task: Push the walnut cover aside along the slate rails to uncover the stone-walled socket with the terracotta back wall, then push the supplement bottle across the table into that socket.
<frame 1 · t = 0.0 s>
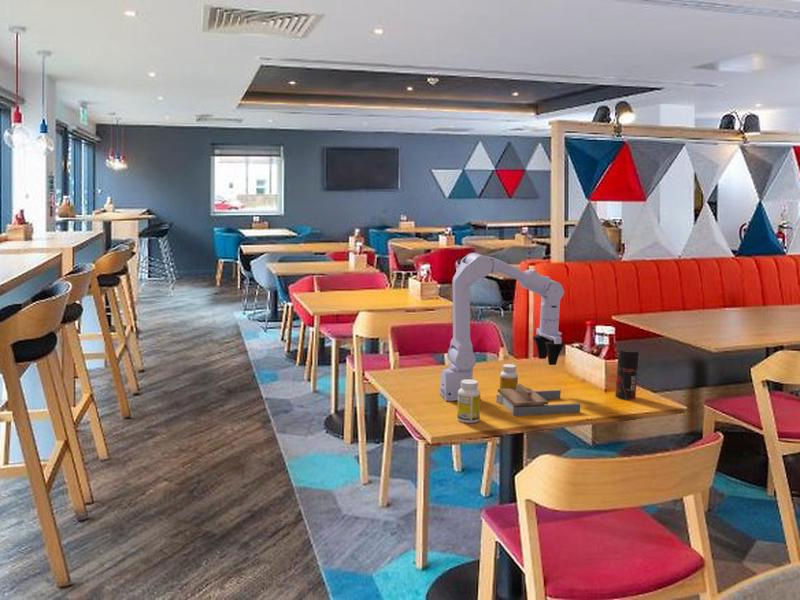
hand: (547, 361, 224), 10 cm above the table, tool pointing down, fingers open, 7 cm apart
cover: (522, 392, 210), point 5 cm above the table, slide at 0.0 cm
supplement bottle: (508, 396, 222), on the table
pill bottle: (468, 420, 199), on the table
deodorant: (625, 397, 223), on the table
socket: (523, 408, 209), on the table
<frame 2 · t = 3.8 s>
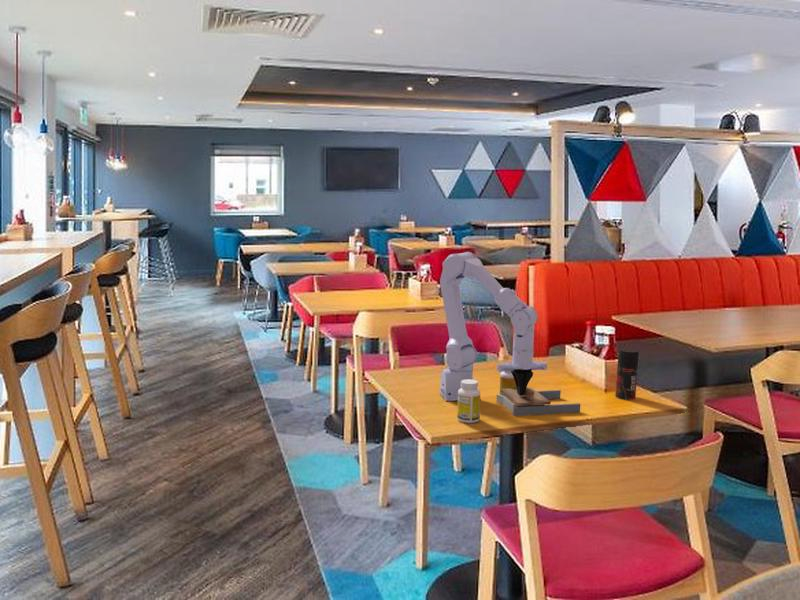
hand: (520, 394, 209), 4 cm above the table, tool pointing down, fingers closed
cover: (524, 392, 210), point 5 cm above the table, slide at 0.7 cm, touching gripper
everything else where it was.
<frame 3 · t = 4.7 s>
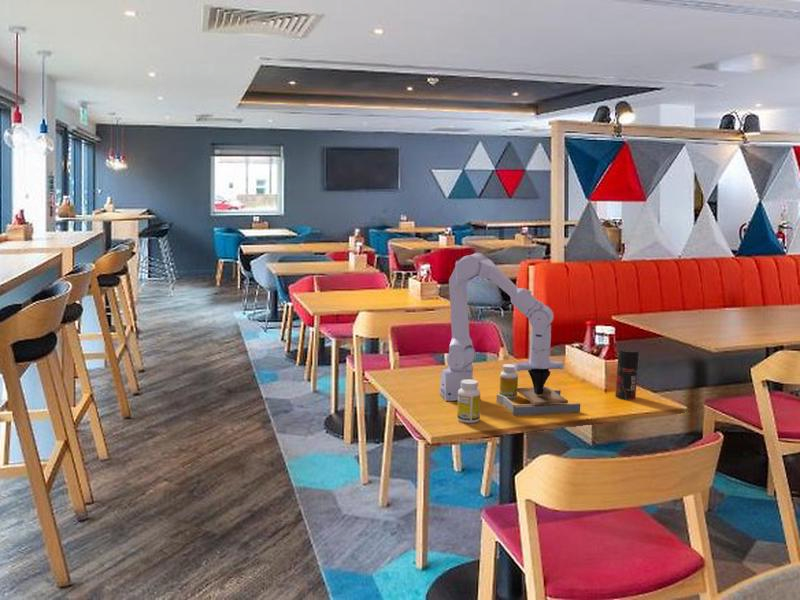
hand: (537, 393, 210), 4 cm above the table, tool pointing down, fingers closed
cover: (541, 391, 211), point 5 cm above the table, slide at 6.0 cm, touching gripper
everything else where it was.
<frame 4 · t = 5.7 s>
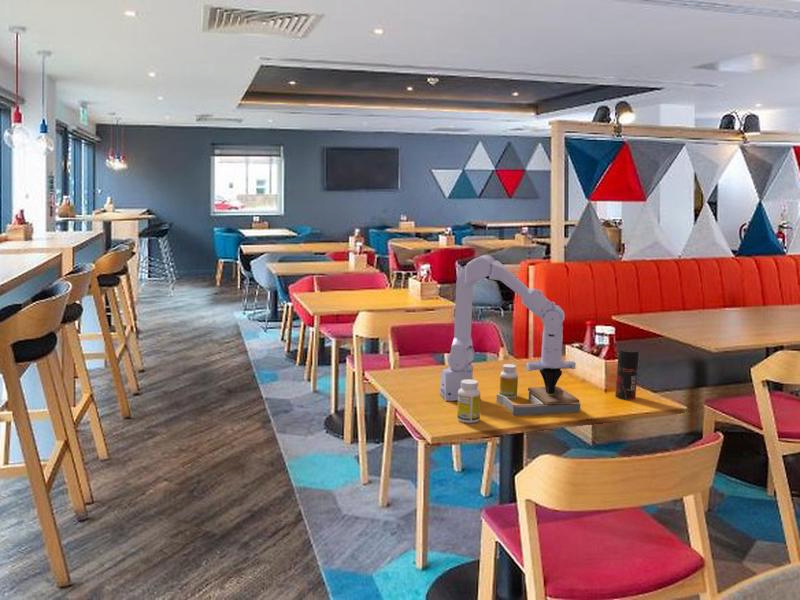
hand: (549, 393, 210), 4 cm above the table, tool pointing down, fingers closed
cover: (553, 391, 212), point 5 cm above the table, slide at 9.7 cm, touching gripper
everything else where it was.
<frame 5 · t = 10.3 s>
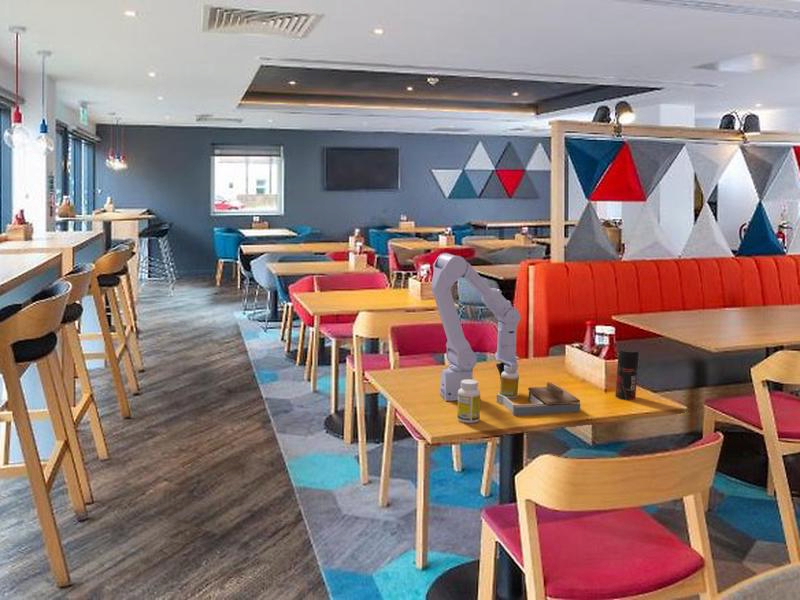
hand: (505, 386, 225), 2 cm above the table, tool pointing down, fingers closed, pressing on supplement bottle
cover: (553, 391, 212), point 5 cm above the table, slide at 9.8 cm
supplement bottle: (508, 396, 222), on the table, touching gripper
everything else where it was.
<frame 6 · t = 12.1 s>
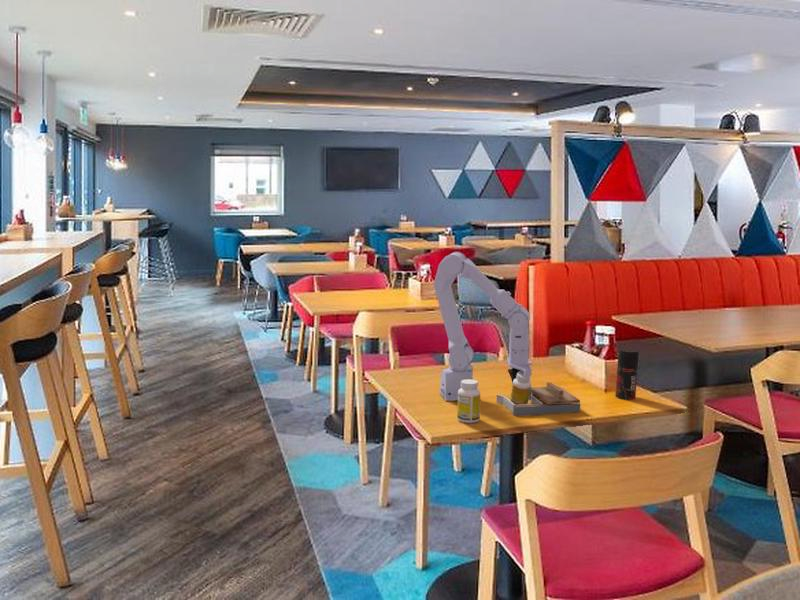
hand: (518, 392, 216), 3 cm above the table, tool pointing down, fingers closed, pressing on supplement bottle
supplement bottle: (518, 402, 214), on the table, touching gripper
everything else where it was.
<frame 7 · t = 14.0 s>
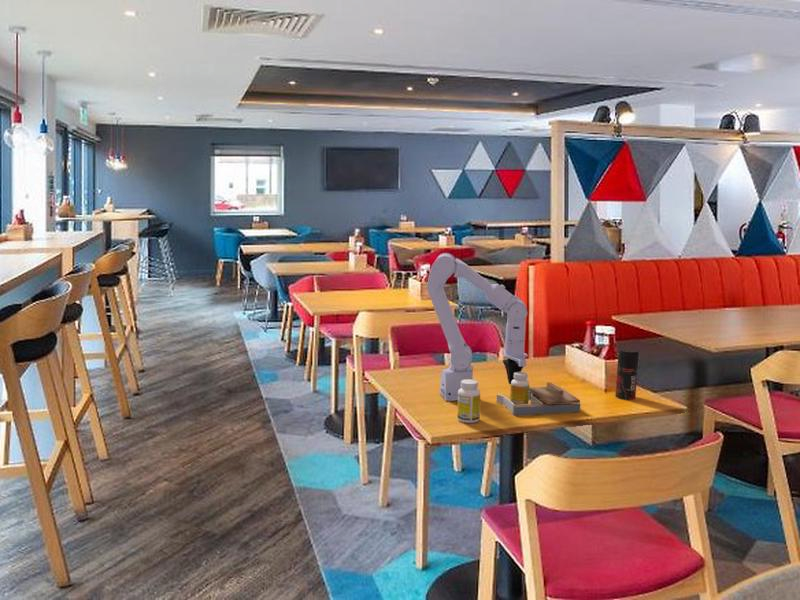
hand: (512, 383, 217), 5 cm above the table, tool pointing down, fingers closed
supplement bottle: (518, 405, 213), on the table
everything else where it was.
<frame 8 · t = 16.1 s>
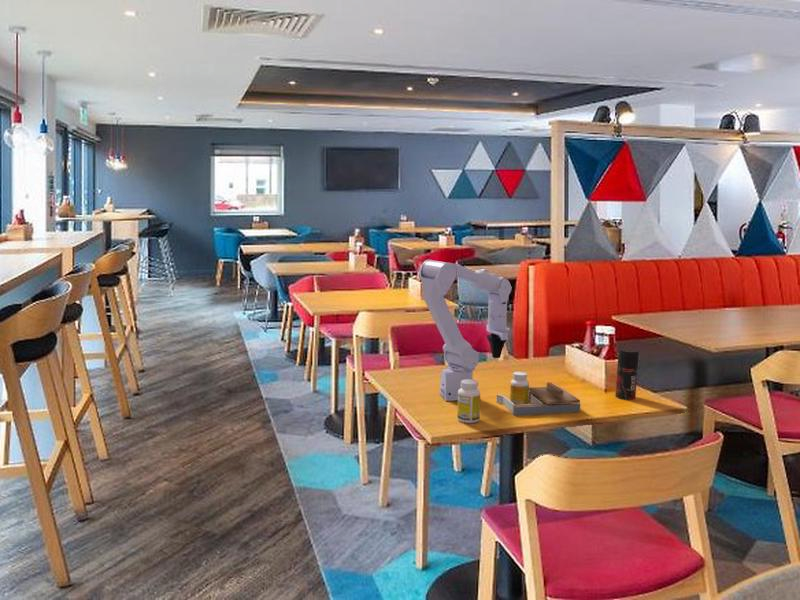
hand: (496, 357, 227), 10 cm above the table, tool pointing down, fingers closed
nothing on the table moved.
at the end: cover slide at 9.8 cm; supplement bottle 3.3 cm from the target spot, on the table; supplement bottle tilted 1° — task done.
